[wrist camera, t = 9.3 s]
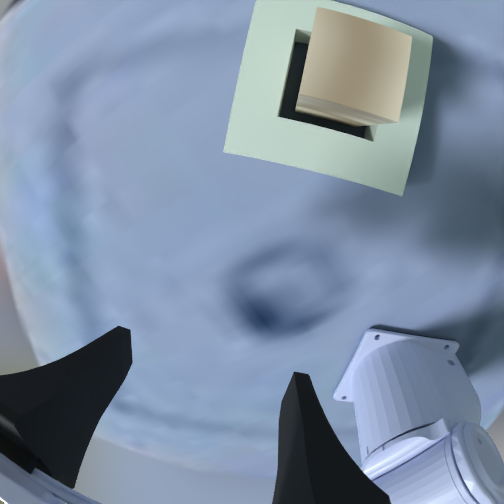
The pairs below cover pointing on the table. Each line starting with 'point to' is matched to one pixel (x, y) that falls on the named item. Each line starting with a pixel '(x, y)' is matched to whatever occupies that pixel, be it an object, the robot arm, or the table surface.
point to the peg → (354, 70)
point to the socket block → (311, 136)
